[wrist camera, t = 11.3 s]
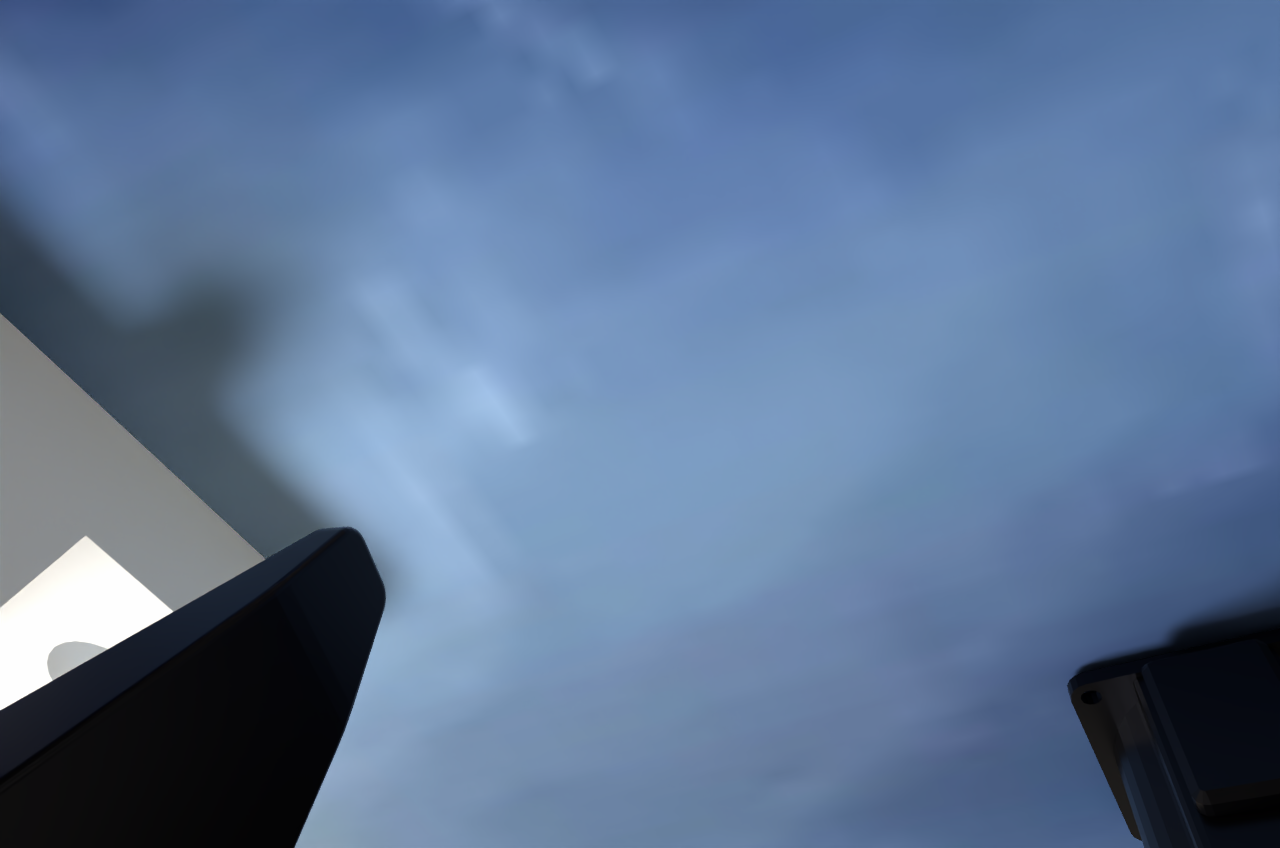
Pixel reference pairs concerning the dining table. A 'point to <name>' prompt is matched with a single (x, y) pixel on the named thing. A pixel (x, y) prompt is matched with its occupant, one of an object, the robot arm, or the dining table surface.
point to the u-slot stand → (88, 527)
